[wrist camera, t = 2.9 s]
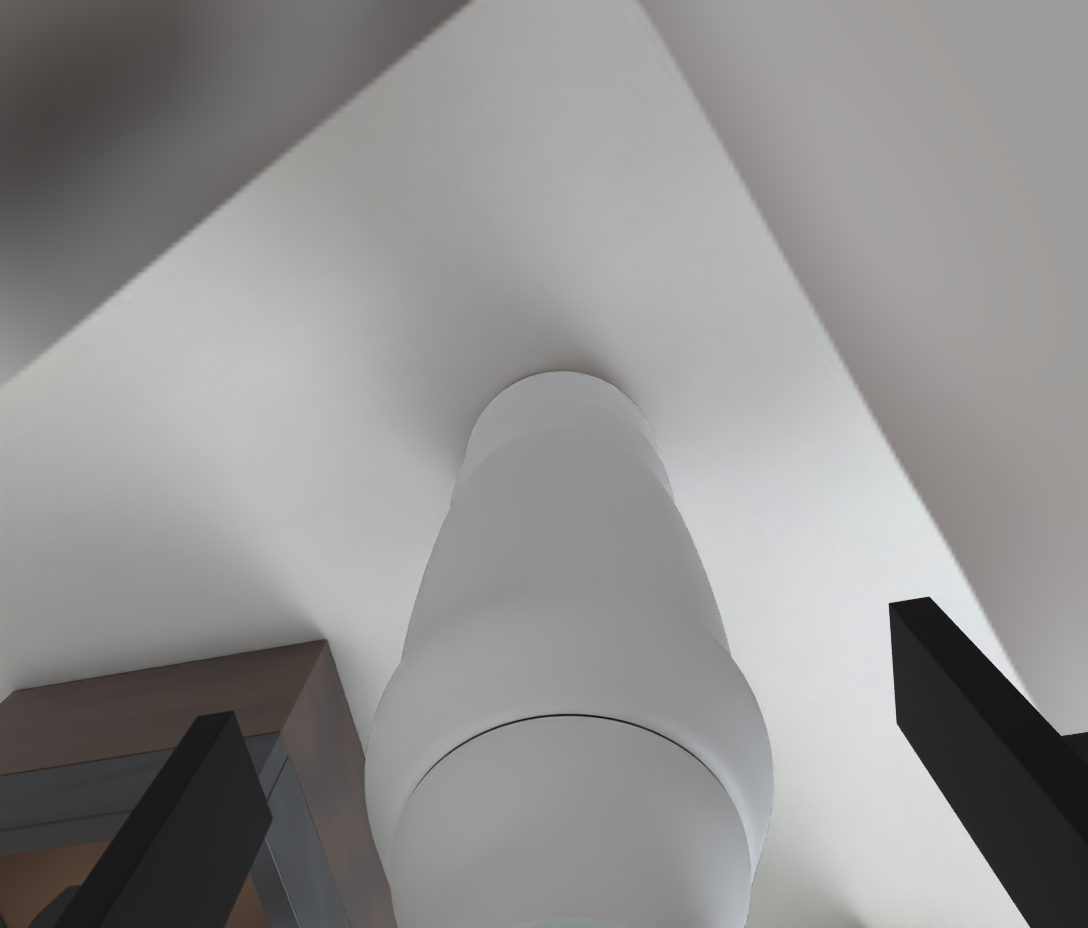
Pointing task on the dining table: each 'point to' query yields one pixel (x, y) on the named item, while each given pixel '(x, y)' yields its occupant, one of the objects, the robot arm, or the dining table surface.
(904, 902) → the dining table surface
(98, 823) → the open rectangular box
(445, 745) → the water bottle
